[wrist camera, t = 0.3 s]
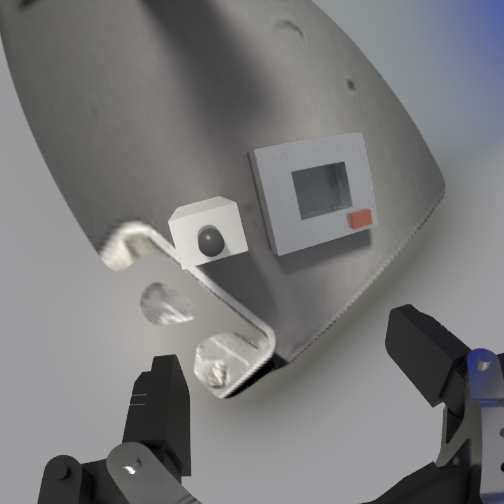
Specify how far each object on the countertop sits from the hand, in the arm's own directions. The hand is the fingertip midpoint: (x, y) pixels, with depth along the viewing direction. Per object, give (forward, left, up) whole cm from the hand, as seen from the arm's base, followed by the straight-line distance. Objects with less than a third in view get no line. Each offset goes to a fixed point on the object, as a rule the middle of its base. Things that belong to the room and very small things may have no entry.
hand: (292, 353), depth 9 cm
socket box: (-2, +14, -28) cm, 31 cm away
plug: (-2, -1, -28) cm, 28 cm away
